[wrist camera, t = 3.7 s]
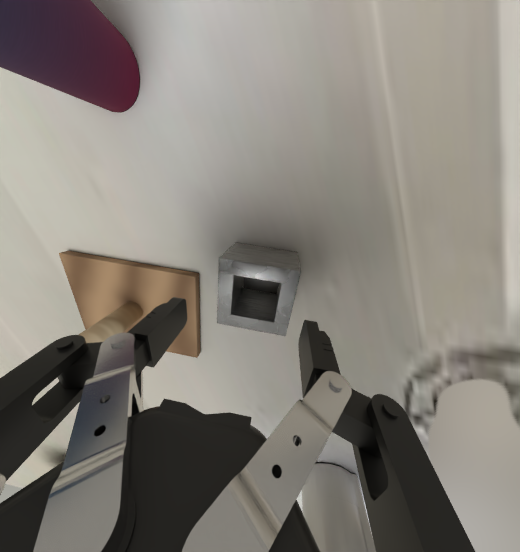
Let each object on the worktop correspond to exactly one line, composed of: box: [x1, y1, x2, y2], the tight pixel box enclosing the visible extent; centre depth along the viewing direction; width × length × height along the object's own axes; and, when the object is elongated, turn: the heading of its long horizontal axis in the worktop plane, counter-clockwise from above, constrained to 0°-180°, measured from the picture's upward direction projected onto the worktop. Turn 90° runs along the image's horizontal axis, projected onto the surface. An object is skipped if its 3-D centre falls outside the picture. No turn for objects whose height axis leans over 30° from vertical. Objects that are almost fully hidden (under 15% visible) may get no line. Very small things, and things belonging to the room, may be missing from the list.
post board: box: [59, 251, 201, 358], centre depth 20 cm, size 16×12×7 cm
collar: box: [217, 243, 301, 336], centre depth 17 cm, size 6×6×5 cm
